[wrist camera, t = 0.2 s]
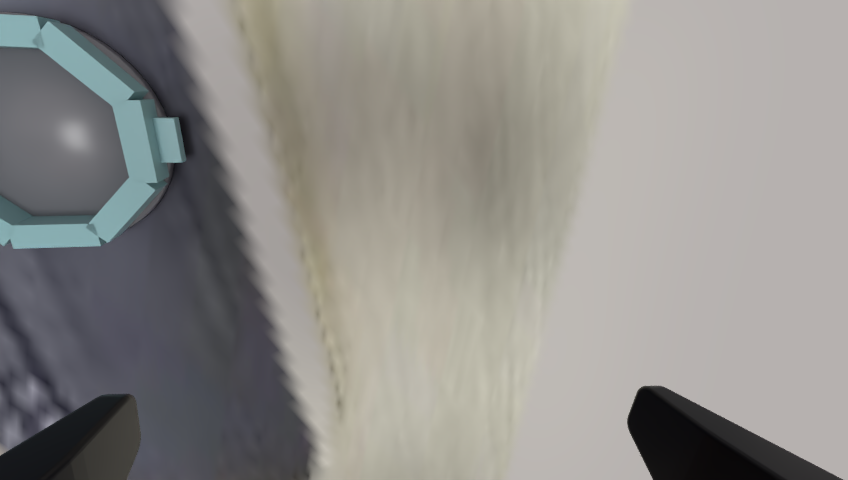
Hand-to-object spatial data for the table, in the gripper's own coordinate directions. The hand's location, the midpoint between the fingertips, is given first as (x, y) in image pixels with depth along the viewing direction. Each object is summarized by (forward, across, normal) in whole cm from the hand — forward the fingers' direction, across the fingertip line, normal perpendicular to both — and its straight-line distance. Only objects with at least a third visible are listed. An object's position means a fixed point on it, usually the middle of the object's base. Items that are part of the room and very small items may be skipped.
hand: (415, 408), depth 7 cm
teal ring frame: (+14, +13, -2) cm, 20 cm away
